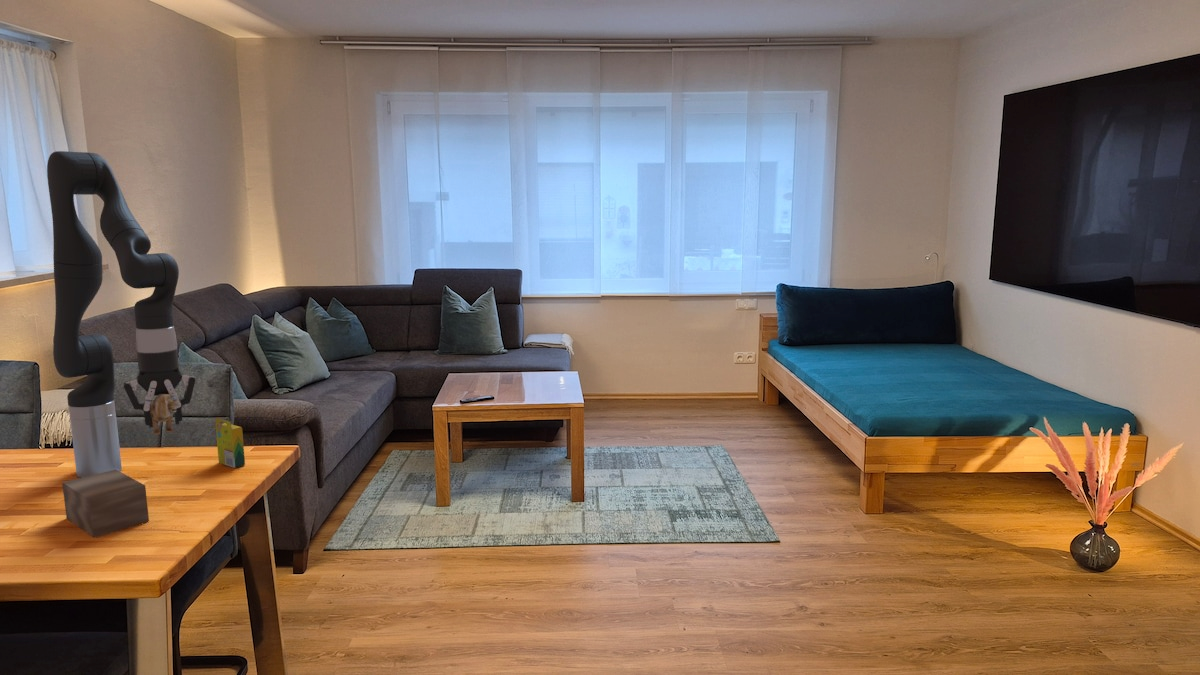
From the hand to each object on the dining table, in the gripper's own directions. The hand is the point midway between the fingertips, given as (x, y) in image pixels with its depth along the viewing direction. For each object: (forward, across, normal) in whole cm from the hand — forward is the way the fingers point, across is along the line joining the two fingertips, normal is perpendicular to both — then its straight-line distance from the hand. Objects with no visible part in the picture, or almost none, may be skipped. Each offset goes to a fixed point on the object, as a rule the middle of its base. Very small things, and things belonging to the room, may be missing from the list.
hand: (164, 424), depth 172 cm
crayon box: (+17, -14, -17) cm, 28 cm away
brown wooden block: (+17, +12, +8) cm, 22 cm away
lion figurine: (+2, 0, -1) cm, 2 cm away
